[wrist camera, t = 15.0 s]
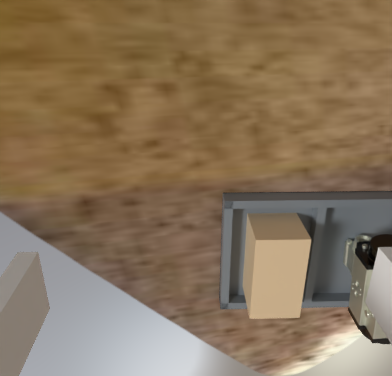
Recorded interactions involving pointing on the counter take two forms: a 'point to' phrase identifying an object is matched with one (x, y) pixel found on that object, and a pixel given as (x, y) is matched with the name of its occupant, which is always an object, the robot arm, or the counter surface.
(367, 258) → the pneumatic valve
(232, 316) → the counter surface
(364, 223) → the bay tray
